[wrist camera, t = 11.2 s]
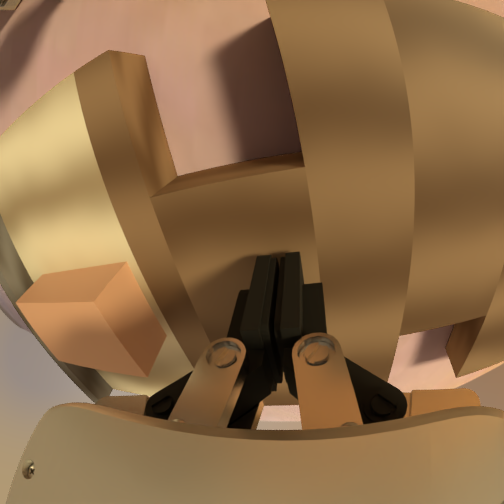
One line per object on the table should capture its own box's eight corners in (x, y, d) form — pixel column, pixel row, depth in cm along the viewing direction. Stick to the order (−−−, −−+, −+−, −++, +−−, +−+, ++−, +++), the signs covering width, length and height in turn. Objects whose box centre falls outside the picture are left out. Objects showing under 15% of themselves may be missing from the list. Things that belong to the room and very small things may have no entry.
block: (42, 274, 14) (15, 302, 11) (126, 261, 12) (93, 301, 10) (78, 331, 16) (58, 360, 14) (166, 335, 14) (147, 377, 12)
